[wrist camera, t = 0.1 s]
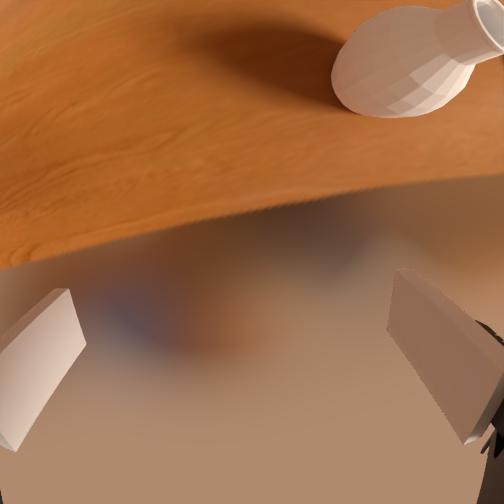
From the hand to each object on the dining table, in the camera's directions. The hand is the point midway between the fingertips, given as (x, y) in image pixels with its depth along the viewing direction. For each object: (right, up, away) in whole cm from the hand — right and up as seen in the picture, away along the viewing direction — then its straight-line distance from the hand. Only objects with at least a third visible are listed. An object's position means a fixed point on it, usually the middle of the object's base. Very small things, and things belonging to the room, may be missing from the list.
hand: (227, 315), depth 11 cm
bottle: (+15, +24, +22) cm, 36 cm away
